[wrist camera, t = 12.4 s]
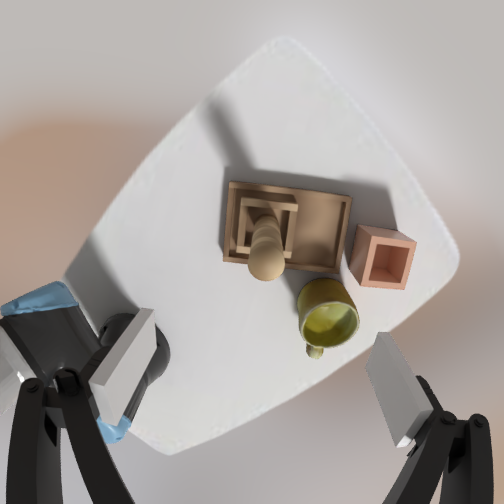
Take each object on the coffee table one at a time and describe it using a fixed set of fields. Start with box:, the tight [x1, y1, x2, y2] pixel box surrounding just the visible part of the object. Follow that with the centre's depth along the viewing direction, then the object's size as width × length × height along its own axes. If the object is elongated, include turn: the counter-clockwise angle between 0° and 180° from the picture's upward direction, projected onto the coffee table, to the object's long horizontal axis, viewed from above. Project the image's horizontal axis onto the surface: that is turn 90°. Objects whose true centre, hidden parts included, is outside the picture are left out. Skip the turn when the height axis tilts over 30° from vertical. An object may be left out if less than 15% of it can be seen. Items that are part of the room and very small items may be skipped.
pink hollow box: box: [349, 224, 417, 290], centre depth 42 cm, size 8×8×7 cm
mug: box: [297, 278, 360, 359], centre depth 46 cm, size 12×10×10 cm
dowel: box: [248, 214, 285, 281], centre depth 36 cm, size 4×4×16 cm
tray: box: [223, 181, 352, 274], centre depth 44 cm, size 18×12×3 cm, turn 84°
